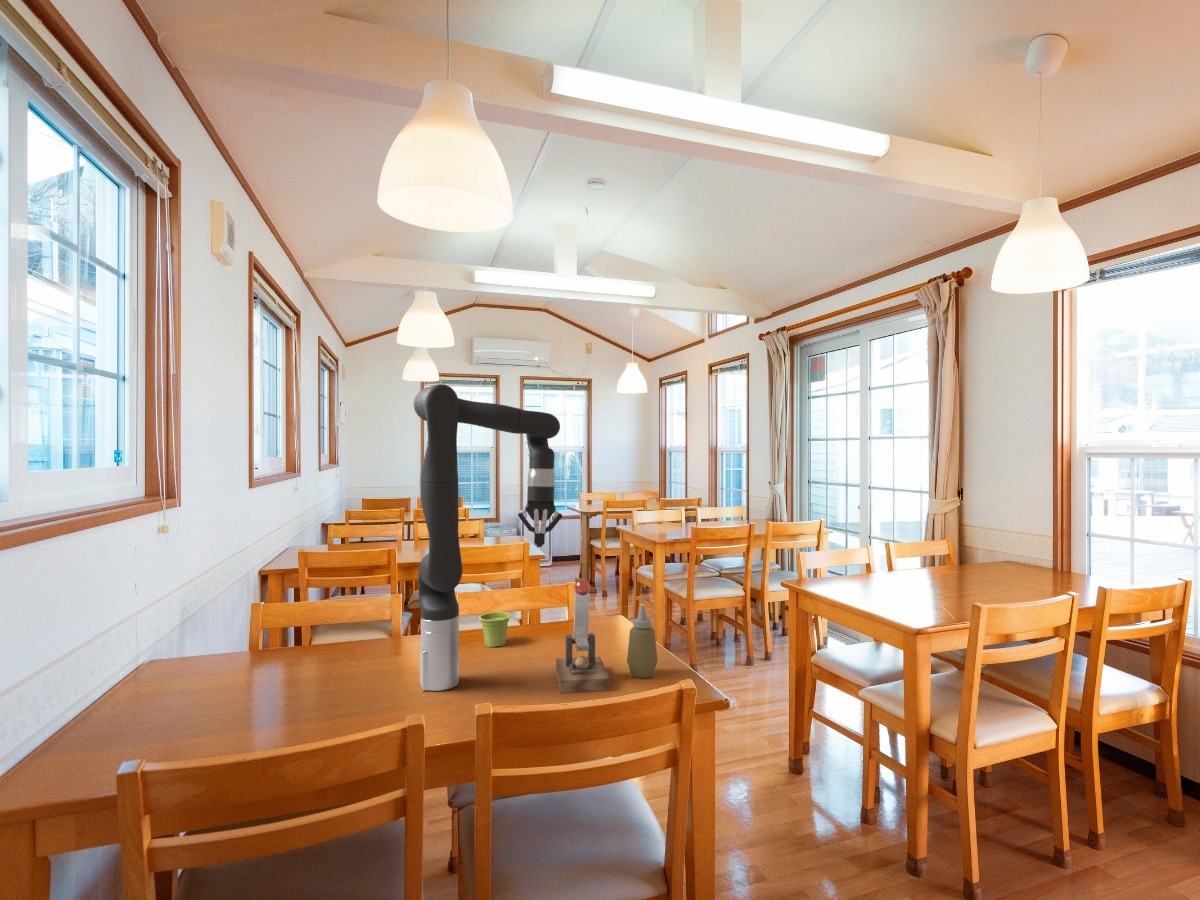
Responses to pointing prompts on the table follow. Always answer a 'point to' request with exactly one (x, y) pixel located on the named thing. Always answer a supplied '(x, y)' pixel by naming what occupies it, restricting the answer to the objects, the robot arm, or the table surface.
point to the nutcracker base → (581, 679)
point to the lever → (581, 615)
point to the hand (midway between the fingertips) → (539, 546)
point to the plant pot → (494, 628)
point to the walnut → (582, 663)
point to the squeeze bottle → (642, 647)
